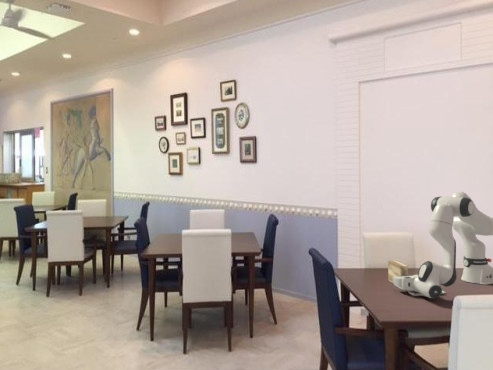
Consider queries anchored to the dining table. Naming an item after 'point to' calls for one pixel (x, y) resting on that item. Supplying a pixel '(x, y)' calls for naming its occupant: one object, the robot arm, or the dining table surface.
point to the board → (396, 270)
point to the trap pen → (415, 293)
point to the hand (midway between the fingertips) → (404, 276)
